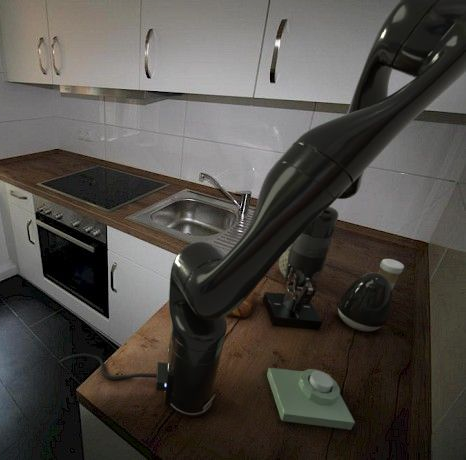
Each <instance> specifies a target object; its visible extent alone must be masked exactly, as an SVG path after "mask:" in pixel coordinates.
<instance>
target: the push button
mask: <svg viewBox="0 0 466 460" xmlns="http://www.w3.org/2000/svg"><path fill="white" fill-rule="evenodd" d="M327 374H328V373H326V372H324V371H322V372H321V370H319V371H314V372H312V374H311V376H310V379H309V383H310V385H311V386H312V387H313V388H314V389H315V390H317V391H319V392H321V393H328V392H329V391H330V389H331V387H332V385H333V381H332V379H333V378H332V377H331V378H332V379H331V378H330V376H331V375H330V376H328V375H327Z"/></svg>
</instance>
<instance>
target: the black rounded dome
mask: <svg viewBox="0 0 466 460" xmlns="http://www.w3.org/2000/svg"><path fill="white" fill-rule="evenodd" d="M392 300H393V289H391V285H390V282H389V280H388V279H387V278H386V277H385V276H384V275H382V274H380V273H378V272H376V271H375V272H374V271H371V272H370V271H369V272H366V273H363V274H362V275H360V276H359V277H358V278H356V279H355V280H354V281H353V282H352V283H351V284H350V285H349V286H348V287H347V288H346V289H345V290H344V292H343V293H342V295H341V296H340V297H339V300H338V301H337V310H338V315H339V317H340V319H341V320H342V322H344V323H345V324H346V325H347V326H348V327H350V328H352V329H355V330H357V331H361V332H374V331H377V330H378V329H379V330H380V328H382V327H383V326H385V325H386V324H387V323H388V320H389V317H390V314H391V309H392Z"/></svg>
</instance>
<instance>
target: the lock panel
mask: <svg viewBox="0 0 466 460" xmlns="http://www.w3.org/2000/svg"><path fill="white" fill-rule="evenodd" d="M284 296H285V293H283V292H282V293H281V292H269V291H267V292H266V291H264V294H263V297H262V302H263V305H264V308H265V310H266V313H267V314H268V317H269V320H270V322H271V325H272V327H279V328H290V329H291V328H292V329H299V330H310V331H320V330H321V326H322V324H323V320H322V318H321V317H320V314H319V313H318V311H317V310H316V308H315V307H314V305H313V303H312V302H311V301H310V303H309V304H308V305H307V304H303V306H302V309H301V310H300V312H299V313H296V312H291V310H289V309H287V308H286V307H284V305H283V301H284Z"/></svg>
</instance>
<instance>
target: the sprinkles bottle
mask: <svg viewBox="0 0 466 460" xmlns="http://www.w3.org/2000/svg"><path fill="white" fill-rule="evenodd" d="M404 268H405V265H404V264H403V263H402V262H401V261H398V260H396V259H392V258H384V259H382V260H381V262H380V264H379V269H378V271H377V273H380V274H382V275H384V276H385V277H386V278H387V279H388V280H389V282H390V285H391V289H392V290H393V289H394V287H395V285H396V283H397V281H398V278H399V277H400V275H401V274H402V273H403V271H404Z"/></svg>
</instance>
